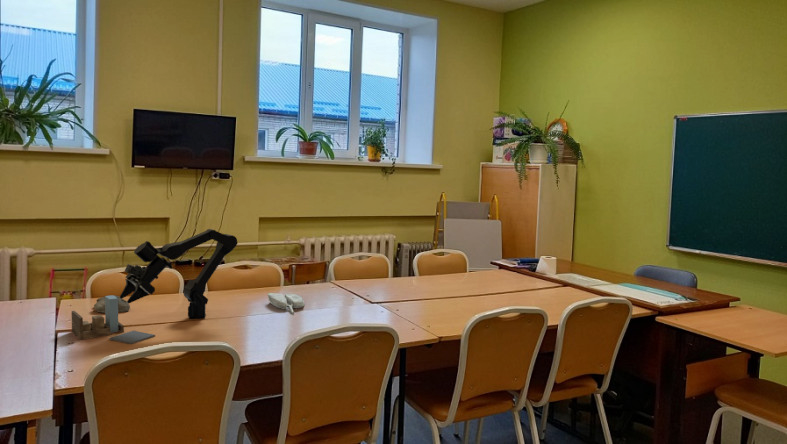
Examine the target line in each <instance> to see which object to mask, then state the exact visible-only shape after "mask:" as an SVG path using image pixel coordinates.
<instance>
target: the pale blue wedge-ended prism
mask: <svg viewBox="0 0 787 444" xmlns="http://www.w3.org/2000/svg"><path fill="white" fill-rule="evenodd" d="M115 296H116V295H113V294H112V295H105V296H104V297H105V313H104V323H105V324H106V325H108V326H109V327H110V332H111V333H117V332H119V330H118V322H119V312H118V298H117V297H115Z"/></svg>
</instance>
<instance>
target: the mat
mask: <svg viewBox="0 0 787 444" xmlns="http://www.w3.org/2000/svg"><path fill="white" fill-rule="evenodd" d="M154 337H156V334H153V333H148V332H143V331H138V330H130V331H128V332H123V333H121V334H118V335H114V336H110V337H109V338H108V339H109V341H114V342H120V343H124V344H130V345H133V344H136V343H140V342H143V341H145V339H146V340H148V338H149V339H151V338H154ZM142 340H143V341H142Z"/></svg>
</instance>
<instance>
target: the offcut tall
mask: <svg viewBox="0 0 787 444" xmlns="http://www.w3.org/2000/svg"><path fill="white" fill-rule="evenodd" d="M91 323H92V326H93V327H94V328H95V329H96V330H98V329H104V323H105V316H103V315H101V314H99V315H92V316H91Z"/></svg>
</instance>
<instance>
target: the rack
mask: <svg viewBox="0 0 787 444" xmlns="http://www.w3.org/2000/svg"><path fill="white" fill-rule="evenodd" d="M83 321H84V319H83V317H82V316H81V315H80V314H79V313H78V312H76V311H75V310H71V333H73V334H74V336H76V337H77V339H79V340H85V339H93V338H99V337H104V336H105V337H106V336H111V335H112V334H111V332H110V327H109V326H108V325H106V324H105V322H104V329H98V330H96V329H95V328H94V327H93V326H92V322H89V323H90V325H91V331H84V332H83ZM118 332H120V333H125V326H124V324H122V323H121V322H120V321H118Z"/></svg>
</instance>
